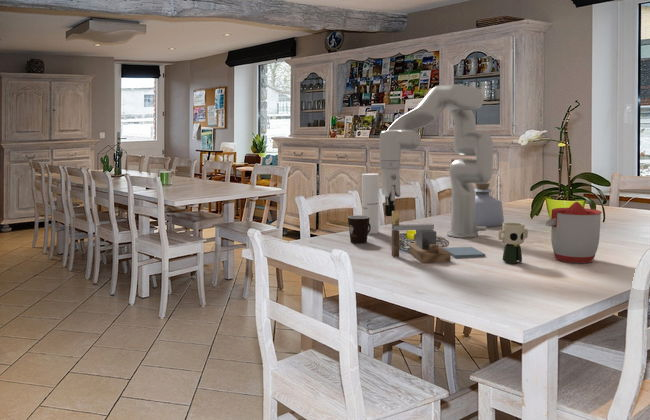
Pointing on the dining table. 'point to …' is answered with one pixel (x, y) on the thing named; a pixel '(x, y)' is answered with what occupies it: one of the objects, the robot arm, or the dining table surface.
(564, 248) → the citrus juicer
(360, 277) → the dining table surface
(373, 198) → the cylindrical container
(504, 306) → the dining table surface
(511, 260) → the character mug
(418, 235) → the dark grey block
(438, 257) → the plane
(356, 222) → the coffee mug
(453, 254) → the mat
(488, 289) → the dining table surface
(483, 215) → the bottle
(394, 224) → the latch
